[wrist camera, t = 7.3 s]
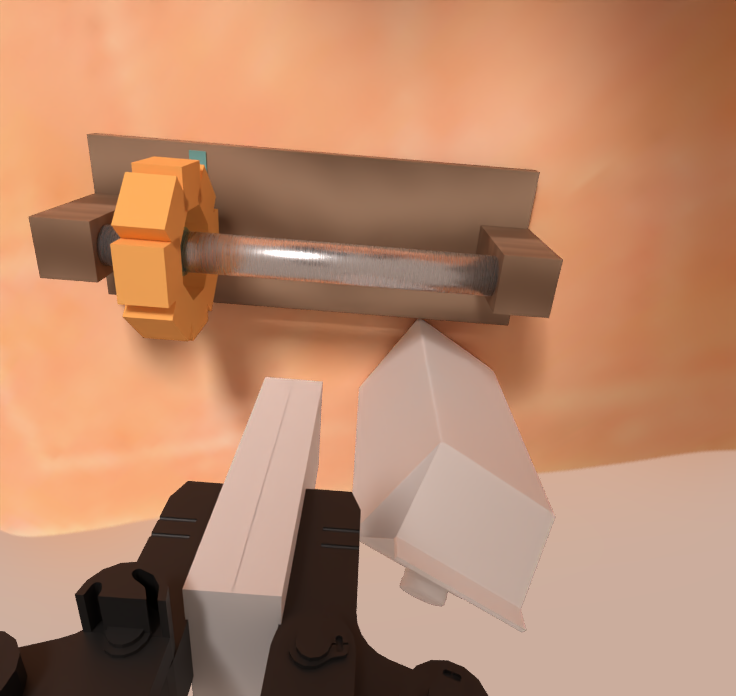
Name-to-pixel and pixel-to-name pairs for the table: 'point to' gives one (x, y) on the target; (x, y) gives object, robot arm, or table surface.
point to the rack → (329, 224)
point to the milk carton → (448, 477)
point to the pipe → (328, 262)
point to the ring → (162, 247)
